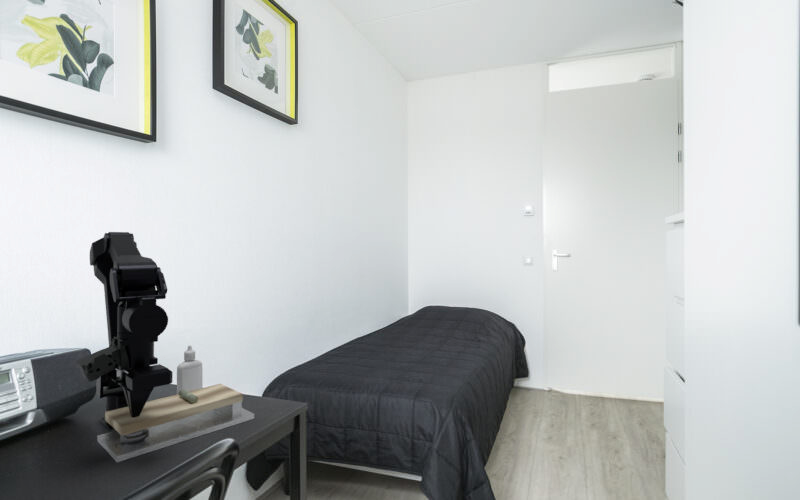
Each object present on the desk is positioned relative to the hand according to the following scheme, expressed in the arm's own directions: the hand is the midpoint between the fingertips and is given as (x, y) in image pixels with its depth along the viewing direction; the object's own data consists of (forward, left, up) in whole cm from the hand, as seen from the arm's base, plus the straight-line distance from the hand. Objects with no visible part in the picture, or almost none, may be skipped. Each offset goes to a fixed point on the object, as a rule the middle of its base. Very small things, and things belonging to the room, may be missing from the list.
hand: (135, 416), depth 79 cm
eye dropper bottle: (-21, +18, -6) cm, 28 cm away
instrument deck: (-2, +8, -1) cm, 8 cm away
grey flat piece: (-2, +8, -5) cm, 10 cm away
